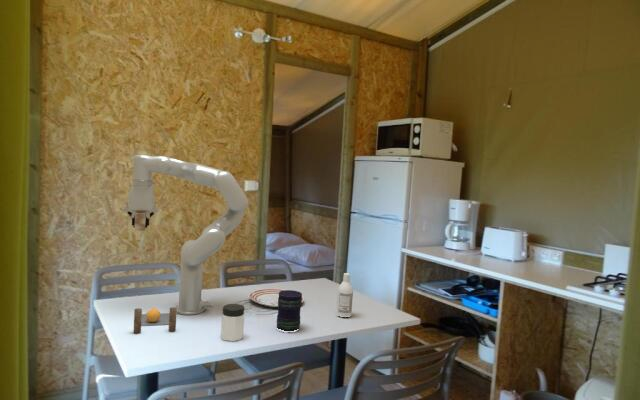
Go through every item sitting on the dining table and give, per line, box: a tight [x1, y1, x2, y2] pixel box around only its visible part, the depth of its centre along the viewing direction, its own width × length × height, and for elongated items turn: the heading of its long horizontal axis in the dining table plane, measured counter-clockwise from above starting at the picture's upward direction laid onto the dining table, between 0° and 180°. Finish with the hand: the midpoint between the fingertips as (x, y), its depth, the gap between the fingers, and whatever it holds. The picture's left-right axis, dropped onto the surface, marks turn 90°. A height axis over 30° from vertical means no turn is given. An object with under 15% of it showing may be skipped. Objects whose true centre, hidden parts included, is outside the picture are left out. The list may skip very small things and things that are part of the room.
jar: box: [220, 303, 245, 342], centre depth 169 cm, size 9×8×12 cm
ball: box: [145, 308, 161, 322], centre depth 179 cm, size 6×6×6 cm
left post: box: [133, 307, 143, 335], centre depth 167 cm, size 3×3×9 cm
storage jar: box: [276, 289, 303, 331], centre depth 182 cm, size 10×10×15 cm
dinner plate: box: [248, 288, 305, 308], centre depth 219 cm, size 27×27×3 cm
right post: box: [168, 306, 178, 333], centre depth 171 cm, size 3×3×9 cm
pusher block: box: [133, 211, 147, 232], centre depth 187 cm, size 4×10×7 cm, turn 19°
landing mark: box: [141, 312, 170, 327], centre depth 182 cm, size 14×14×1 cm
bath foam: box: [335, 272, 354, 316], centre depth 204 cm, size 7×7×20 cm
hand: (140, 226), depth 187 cm, fingers closed on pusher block, 4 cm apart
